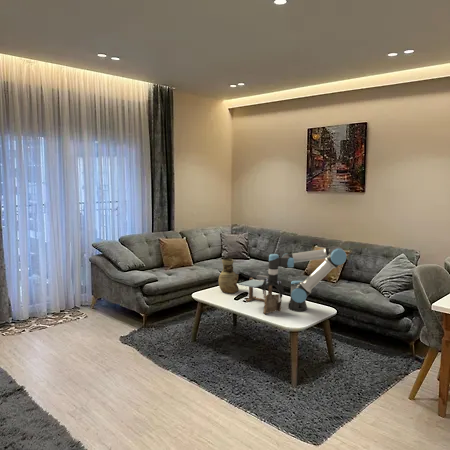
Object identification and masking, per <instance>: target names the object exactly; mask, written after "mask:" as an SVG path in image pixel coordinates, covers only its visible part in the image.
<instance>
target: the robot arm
mask: <svg viewBox="0 0 450 450" xmlns="http://www.w3.org/2000/svg"><path fill="white" fill-rule="evenodd" d="M317 260H324V261H323V262H321V264H320V265H318V266H317V268H316V269H315V270H313V271H312V272H311V273H310V275H308V276H307V277H306V278H305V280H292V281H291V282H290V300H289V301H288V306H287V307H288V308H287V309H289V310H290V311H293V312H305V311H307V309H308V305H307V302H306V299H308V298H307V297H308V296H309V295H310V294H311V293H312V289H314V287H316V286H317V285H318V284H319V283H320V282H321V281H322V280H323V279H324V278H325V277H326V276H327V275H328V274H329V273H330V272H331V271H332V270H333V269H337V268H338V267H339V266H341V265H343V264H344V263H346V261H347V253H346V251H345V250H344V248H343V247H341V246H338V245H332V246H327V247H324V248H322V249H316V250H315V249H314V250H310V251H309V250H307V251H300V252H294V253H284V254H283V255H282V256H279V254H277V253H270V254H269V256H268V272H267V273H268V275H267V276H268V279H267V278H266V279H265V280H264V283H263V285H262V286H260V290H262V295H263V297H262V299H265V297H266V295H267V289H268V286H269V285H272V287H273V286H274V287H275V288H276V290H277V292H278V293H279V302H281V303H282V301H281V299H282V298H283V295H284V294H285V293H286V292H285V289H284V288H283V287H284V286H283V284H282V280H278V279H279V275H278V274H279V267H280V268H295V267H294V266H295V264H296V263H302V262H308V261H309V262H310V261H317ZM267 281H268V282H269V283H268V284H267V285H265V284H266V282H267Z"/></svg>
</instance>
